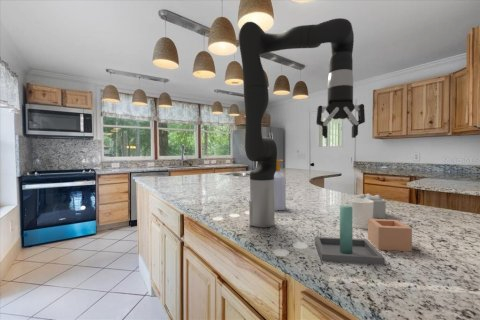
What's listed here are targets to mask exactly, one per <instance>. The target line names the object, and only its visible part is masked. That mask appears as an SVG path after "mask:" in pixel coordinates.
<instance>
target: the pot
mask: <svg viewBox="0 0 480 320" xmlns="http://www.w3.org/2000/svg"><path fill="white" fill-rule="evenodd" d="M412 236H413V229H412V227H410V226H409V225H407V224H405V223H403V222H401V221H399V219H386V218H384V219H377V218H374V219H368V229H367V240H368V241H369V242H370V243H372V245H374V247H375V248H377V250H381V251H397V252H398V251H399V252H402V251H403V252H412V250H413V249H412V248H413V247H412V245H413V243H412V241H413V239H412V238H413V237H412Z"/></svg>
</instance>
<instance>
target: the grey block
mask: <svg viewBox="0 0 480 320" xmlns="http://www.w3.org/2000/svg"><path fill="white" fill-rule="evenodd" d="M354 198H362V199H369V200H372V201H374V205H373V218H374V219H377V218H384V219H386V208H387V207H386V199H384V198H382V196H381V195H379V194H375V195H372V194H370V193H365V194H364V193H359V194H357V195H354Z"/></svg>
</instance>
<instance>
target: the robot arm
mask: <svg viewBox="0 0 480 320" xmlns="http://www.w3.org/2000/svg"><path fill="white" fill-rule="evenodd" d="M353 30H354V29H353V25H352V22H351V21H350V20H349V19H346V18H340V17H339V18H332V19H329V20H326V21H323V22H320V23H318V24H317V23H316V24H306V25H305V24H304V25H298V26H294V27H291V28H289V29H287V30H285V31H282V32H278V33H269V32H266V31H264V30H263V29H262V28H261V26H260V25H259V24H258V23H256V22H253V21H246V22H244V24H243V25H241V27H240V30H239V33H238V45H239V51H240V57H241V64H242V65H241V66H242V82H243V100H244V113H245V131H244V132H245V134H244V136H245V137H244V151H245V154H246V157H247V159H248V160H249V161H250V162H253V163H254V162H255V163H256V162H257V165H256V166H255V168H254V169H253V170H251V171H250V172H249V200H248V201H249V202H248V203H249V214H248V215H249V217H248V218H249V219H248V220H249V226H253V227H256V228H269V227H274V225H275V224H276V222H275V219H276V217H275V214H276V212H275V207H274V175H275V172H276V166H277V160H278V159H277V158H278V147H277V143H276V141H275V140H274V138H272V137H269V136H263V133H262V123H263V117H264V115H265V114H266V110H267V108H268V105H269V100H270V99H269V98H270V97H269V84H268V80H267V77H266V73H265V70H264V67H263V64H262V60H261V55H263V54H268V53H271V52H278V51H284V50H292V49H294V50H295V49H315V48H319V47H320V46H321V44H327V43H330V48H331V49H330V57H329V59H328V78H327V104H326V106H322V105H318V106H317V108H316V110H317V111H316V123H315V124H316V125H317V126H321V132H322V133H321V136H322V137H323V138H324V139H328V124H329V123H330V122H331V121H332V119H334V120H339V119H340V120H346V119H347V121H348V122H350V123H351V125H352V126H351V138H352V139H353V138H354V139H355V138H356V137H357V136H358V134H359V125H361V124H364V123H366V115H365V114H366V113H365V105H364V104H363V103H361V104H357V105H356V104H354V74H353V68H354V67H353V60H354V59H353V52H354V51H353V50H354V41H355V39H354V38H355V36H354V31H353ZM354 110H355V111H356V113H357V118H358V119H356V117H355V115H353V113H352V112H353V111H354ZM325 111H326V112H327V114H328V116H327V117H326V118H325V120H324V121H322V114H323V113H324V112H325Z"/></svg>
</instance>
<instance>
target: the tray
mask: <svg viewBox="0 0 480 320" xmlns="http://www.w3.org/2000/svg"><path fill="white" fill-rule="evenodd" d="M371 243H372V242H371V241H370V240H369V239H368V238H352V254H343V253H341V252H340V237H331V236H330V237H329V236H327V237H326V236H315V237H314V246H315V249H316V252H317V255H318V257H319V261H320V263H321V265H324V263H323V262H324V261H325V262H337V263H339V262H340V263H350V264H351V263H353V264H366V265H367V264H368V265H383V266H385V264H386V262H385V261H386V260H385V257H384V256H383V255H382V254H381V253H380V252H379V251H378V249H376V247H375V246H373V245H374V244H373V243H372V244H371Z"/></svg>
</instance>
